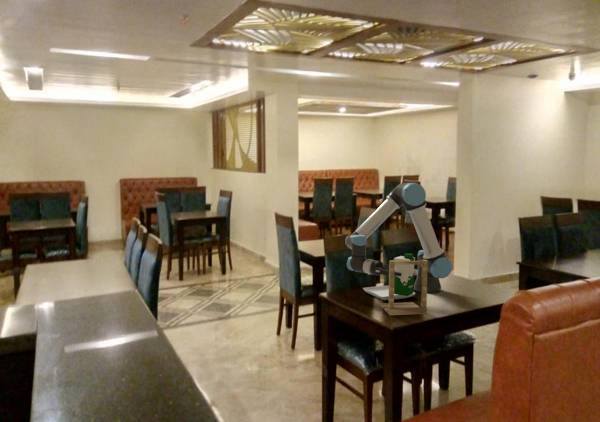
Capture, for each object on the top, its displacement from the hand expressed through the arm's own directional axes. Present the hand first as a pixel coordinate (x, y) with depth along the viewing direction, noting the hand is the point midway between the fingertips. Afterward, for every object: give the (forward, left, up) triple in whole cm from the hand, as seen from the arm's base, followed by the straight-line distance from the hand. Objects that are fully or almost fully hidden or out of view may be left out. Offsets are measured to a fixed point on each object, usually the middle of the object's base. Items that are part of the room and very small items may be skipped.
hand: (412, 274), depth 232 cm
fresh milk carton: (+3, -4, -11) cm, 12 cm away
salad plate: (+3, -29, -19) cm, 34 cm away
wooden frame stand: (+4, -3, -18) cm, 19 cm away
